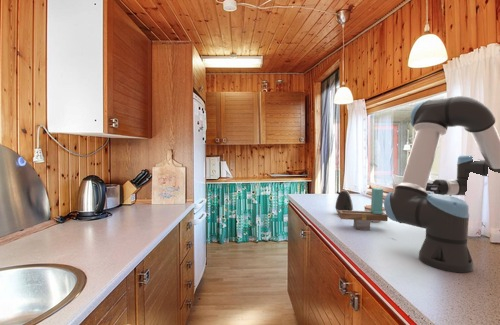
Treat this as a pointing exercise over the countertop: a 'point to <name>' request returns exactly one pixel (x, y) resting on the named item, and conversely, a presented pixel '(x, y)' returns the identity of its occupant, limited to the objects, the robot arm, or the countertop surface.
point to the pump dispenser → (344, 201)
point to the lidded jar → (368, 207)
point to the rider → (377, 201)
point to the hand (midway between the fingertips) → (393, 186)
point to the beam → (362, 218)
